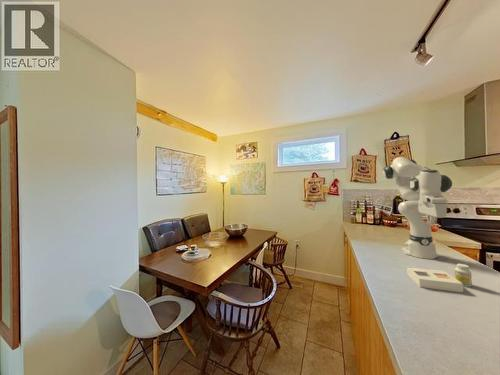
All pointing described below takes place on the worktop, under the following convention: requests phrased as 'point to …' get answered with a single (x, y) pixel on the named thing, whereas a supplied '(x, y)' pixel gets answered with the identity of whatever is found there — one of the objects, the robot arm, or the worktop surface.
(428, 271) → the console
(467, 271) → the supplement bottle
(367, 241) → the worktop surface
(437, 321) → the worktop surface
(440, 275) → the terracotta key
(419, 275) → the charcoal key
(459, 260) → the worktop surface
